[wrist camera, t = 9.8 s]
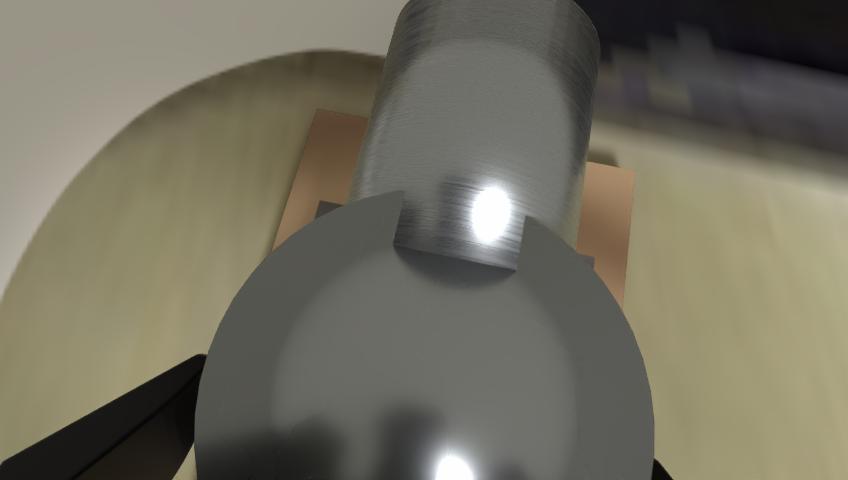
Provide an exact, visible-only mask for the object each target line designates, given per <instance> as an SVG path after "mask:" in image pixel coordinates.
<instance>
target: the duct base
mask: <svg viewBox="0 0 848 480" xmlns="http://www.w3.org/2000/svg"><path fill="white" fill-rule="evenodd" d="M368 120H369V119H368V118H363V117H357V116H352V115H347V114H342V113H337V112H332V111H327V110H322V109H317V111H316V114H315V117H314V120H313V123H312V127H311V130H310V133H309V136H308V139H307V142H306V145H305V148H304V151H303V155H302V158H301V161H300V164H299V167H298V170H297V173H296V176H295V179H294V183H293V186H292V189H291V192H290V195H289V198H288V201H287V204H286V207H285V211H284V214H283V217H282V220H281V223H280V226H279V229H278V232H277V235H276V239H275V242H274V245H273V248H272V251H273V250H275V249H276V248H277V247H278V246H279V245H280V244H282V243H283V242H284V241H285V240H286V239H287V238H289V237H290V236H291V235H292V234H294V233H295V232H297V231H298V230H300V229H301V228H303V227H304V226H306V225H307V224H309V223H310V222H312V221H313V220H315V219H317V218H319V217H321V216H323V215H325V214H327V213H329V212H331V211H333V210H334V209H336V208H339V207H341V206H344V205H345V202H346V198H347V195H348V191H349V188H350V184H351V181H352V177H353V174H354V170H355V166H356V163H357V159H358V156H359V152H360V149H361V145H362V142H363V138H364V135H365V131H366V128H367V124H368ZM634 181H635V171H634V170H629V169H624V168H619V167H614V166H608V165H603V164H598V163H593V162H588V161H587V164H586V171H585V179H584V187H583V195H582V203H581V211H580V219H579V227H578V235H577V242H576V250H575V251H576V252H577V253H578V254H579V255H581V256H582V257H583V258H584V259H585V260H586V262H587V263H588V264H589V265H590V266H591V267H592V269H593V270H594V271H595V272H596V273H597V274H598V276H599V277H600V278H601V279H602V280H603V282H604V283H605V285H606V286H607V288H608V289H609V291H610V292H611V294H612V295H613V297H614V298H615V300H616V301H617V302H618V304H619V306H620V308H621V310H622V308H623V298H624V287H625V276H626V266H627V255H628V245H629V234H630V223H631V213H632V202H633V191H634ZM272 251H271V252H272Z"/></svg>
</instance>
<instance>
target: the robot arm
mask: <svg viewBox="0 0 848 480" xmlns="http://www.w3.org/2000/svg"><path fill="white" fill-rule="evenodd" d="M206 358H207V355H206V354H197V355H195V356H193V357H191V358H189V359H187V360H186V361H184V362H182V363H180V364H178V365H177V366H175V367H173V368H171V369H169V370H167V371H166V372H164V373H162V374H160V375H158V376H157V377H155V378H153V379H151V380H149V381H148V382H146V383H144V384H142V385H140V386H138V387H137V388H135V389H133V390H131V391H129V392H128V393H126V394H124V395H122V396H120V397H119V398H117V399H115V400H113V401H111V402H110V403H108V404H106V405H104V406H102V407H100V408H99V409H97V410H95V411H93V412H91V413H90V414H88V415H86V416H84V417H82V418H81V419H79V420H77V421H75V422H73V423H71V424H70V425H68V426H66V427H64V428H62V429H61V430H59V431H57V432H55V433H53V434H52V435H50V436H48V437H46V438H44V439H42V440H41V441H39V442H37V443H35V444H33V445H32V446H30V447H28V448H26V449H24V450H23V451H21V452H19V453H17V454H15V455H14V456H12V457H10V458H8V459H6V460H4V461H3V462H2V463H1V465H0V480H172V479H173V477H174V476H175V474H176V473H177V471H178V470H179V468H180V466H181V465H182V463H183V462H184V460H185V458H186V456H187V454H188V452H189V451H190V449H191V447H192V445H193V443H194V436H195V411H196V404H197V398H198V391H199V384H200V380H201V376H202V372H203V369H204V365H205V362H206ZM651 480H673V479H672V477H671V476H670V475H669V474H668V472H667V471H666V470H665V469H664V467H663V466H662V465H661V464H660V463H659V461H657V460H656V459H655V458H654V460H653V468H652V476H651Z"/></svg>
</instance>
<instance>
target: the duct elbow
mask: <svg viewBox="0 0 848 480" xmlns="http://www.w3.org/2000/svg"><path fill="white" fill-rule="evenodd" d="M599 61H600V45H599V39H598V36H597V33H596V30H595V28H594V26H593V24H592V22H591V21H590V19H589V18H588V16H587V15H586V14H585V13H584V11H583V10H582V9H581V8H580V7H579V6H578V5H577V4H576V3H575V2H574V1H573V0H410V1H409V2H408V3H407V4H406V5H405V6H404V8H403V9H402V11H401V13H400V15H399V17H398V19H397V22H396V25H395V28H394V32H393V35H392V39H391V42H390V46H389V50H388V53H387V57H386V60H385V64H384V67H383V71H382V74H381V78H380V81H379V85H378V89H377V92H376V96H375V99H374V103H373V106H372V110H371V113H370V117H369V120H368V124H367V128H366V131H365V135H364V138H363V142H362V145H361V149H360V152H359V156H358V159H357V163H356V166H355V170H354V174H353V177H352V181H351V184H350V188H349V191H348V195H347V198H346V202H345V205H344V206H341V207H339V208H336V209H334V210H333V211H331V212H329V213H327V214H325V215H323V216H321V217H319V218H317V219H315V220H313V221H312V222H310V223H309V224H307V225H306V226H304V227H303V228H301V229H300V230H298V231H297V232H295V233H294V234H292V235H291V236H290V237H289V238H287V239H286V240H285V241H284V242H283V243H282V244H280V245H279V246H278V247H277V248H276V249H275V250H273V251H272V252H271V253H270V254H269V255H268V256H267V257H266V258H265V260H264V261H263V262H262V263H261V264H260V265H259V266H258V267H257V268H256V269H255V270H254V272H253V273H252V274H251V275H250V276H249V278H248V279H247V280H246V282H245V283H244V285H243V286H242V287H241V289H240V290H239V292H238V293H237V294H236V296H235V297H234V299H233V301H232V302H231V304H230V306H229V308H228V310H227V311H226V313H225V315H224V317H223V319H222V320H221V322H220V324H219V327H218V329H217V331H216V334H215V336H214V339H213V341H212V344H211V346H210V349H209V351H208V354H207V358H206V362H205V365H204V369H203V372H202V376H201V380H200V384H199V391H198V398H197V404H196V411H195V436H194V449H195V460H196V470H197V480H651V476H652V468H653V460H654V415H653V406H652V398H651V390H650V386H649V382H648V378H647V373H646V369H645V365H644V361H643V358H642V355H641V353H640V350H639V347H638V344H637V342H636V339H635V336H634V334H633V331H632V329H631V327H630V325H629V323H628V321H627V319H626V317H625V315H624V314H623V312H622V310H621V308H620V306H619V304H618V302H617V301H616V300H615V298H614V297H613V295H612V294H611V292H610V291H609V289H608V288H607V286H606V285H605V283H604V282H603V280H602V279H601V278H600V277H599V276H598V274H597V273H596V272H595V271H594V270H593V269H592V267H591V266H590V265H589V264H588V263H587V262H586V260H585V259H584V258H583V257H582V256H581V255H579V254H578V253H577V252H576V251H575V250H576V242H577V235H578V227H579V219H580V211H581V203H582V195H583V187H584V179H585V171H586V164H587V156H588V148H589V140H590V132H591V124H592V116H593V108H594V100H595V93H596V85H597V77H598V69H599Z"/></svg>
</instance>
